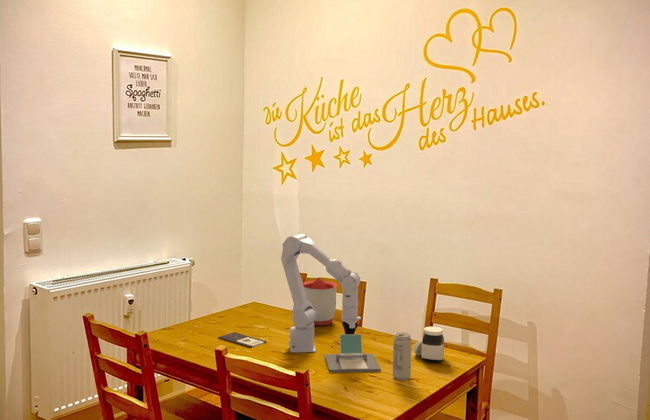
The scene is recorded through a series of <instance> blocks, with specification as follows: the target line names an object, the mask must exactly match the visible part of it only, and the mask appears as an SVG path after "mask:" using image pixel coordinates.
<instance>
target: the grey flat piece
mask: <svg viewBox="0 0 650 420" xmlns="http://www.w3.org/2000/svg"><path fill="white" fill-rule="evenodd" d="M324 359H325V362H326V366H327V369H328V373H335V374H336V373H380V372H381V371H382V368H381V366H380V365H379V362H378V361H377V358H376V357H375V354H374V353H362V354H340V353H335V354H333V353H329V354H326V353H325V354H324Z"/></svg>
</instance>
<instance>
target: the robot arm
mask: <svg viewBox="0 0 650 420" xmlns="http://www.w3.org/2000/svg"><path fill="white" fill-rule="evenodd" d="M281 246H282V252H281V257H280V258H281V259H280V260H281V263H282V264H281V265H282V267H283V272H284V274H285V279H286V281H287V284H288V287H289V291H290V295H291V298H292V302H293V306H292V307H293V308H292V322H293V324H294V326H289V341H288V347H289V350H290V351H289V352H290V353H316V352H317V351H316V347H315V325H314V321H315V320H316V318H317V313H316V311H315V309H314V308H313V307H312V304H311V302H310V301H308V299H307V296H306V293H305V289H304V286H303V283H304V282H303V279H302V275H301V273H300V268H299V266H298V263H297V259H298V258H299V257H300V255H301V254H308V255H310V256H311V257H313V258H314V259H315V260H317V261H318V262H319V263H321V264H322V266H325V270H326V272H327V274H329V275H330V276H331V277H333V278H334V279H335V280H336V281H337V282H338V283H339V284H340V286H341V289H342V299H341V300H342V305H341V307H342V309H341V312H342V313H341V317H340V319H341V321H342V322H341V324H342V327H343V330H344V335H345V334H355V332H356V330H357V329H358V326H359V325H358V321H361V320H362V318H361V316H358V315H359V313H358V309H359V285H360V284H361V278H360V276H359V275H358V273H357V272H356V271H352V270H351V269H350V268H347V267H346V265H344V264H342V263H343V262H342V261H341V260H340V259H339V260H338V259H332V258H330V256H329V255H327V254H326V253H325V251H323V250H322V249H321V248H320V247H319V246H317V244H316V243H315V242H314V241H313V240H312V239H311V238H310V237H308V235H306V234H304V233H300V232H299V233H297V234H295V235H291V236H288V237H286V239H284V241H283V243H282V245H281Z"/></svg>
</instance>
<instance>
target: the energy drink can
mask: <svg viewBox="0 0 650 420" xmlns="http://www.w3.org/2000/svg"><path fill="white" fill-rule="evenodd" d="M412 341H413V339H412V338H411V334H410V333H407V332H396V333H395V336H394V338H393V349H392V350H393V351H392V353H393V354H392V376H393V377H394V379H395V380H397V381H403V382H404V381H408V380H409V379H410V377H411V372H412V371H411V369H412V368H411V367H412Z"/></svg>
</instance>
